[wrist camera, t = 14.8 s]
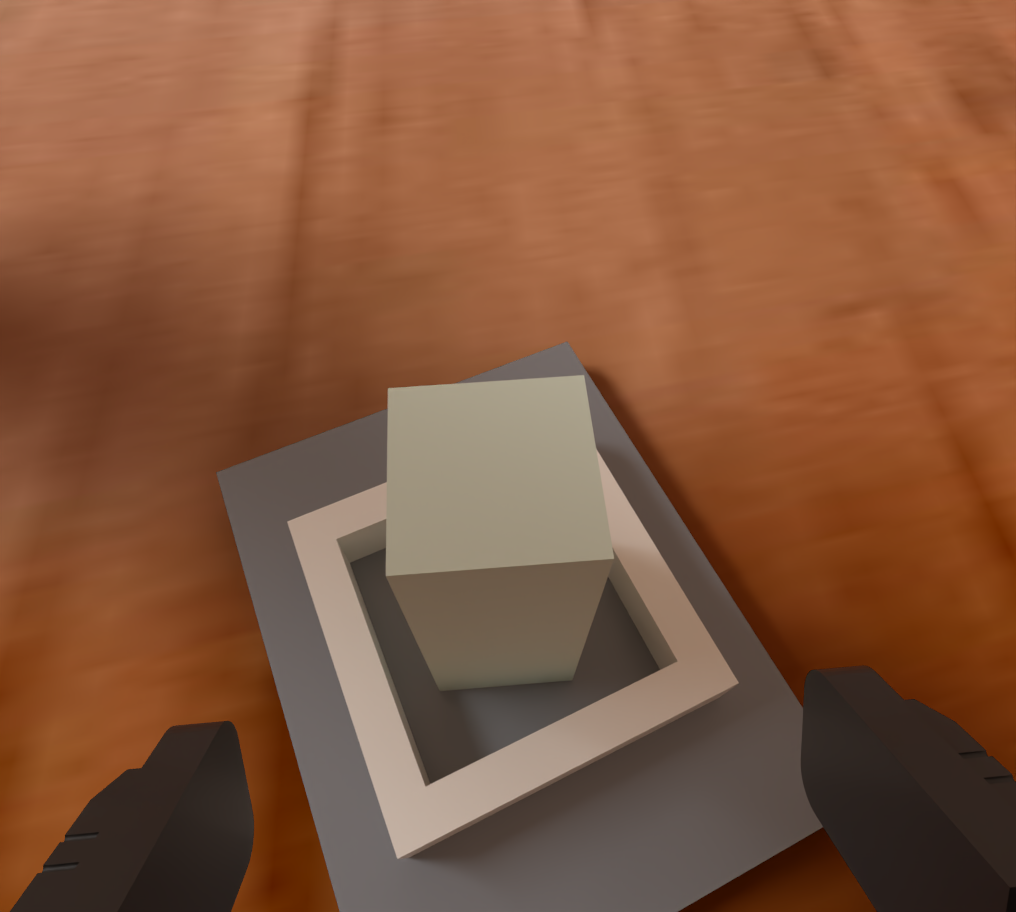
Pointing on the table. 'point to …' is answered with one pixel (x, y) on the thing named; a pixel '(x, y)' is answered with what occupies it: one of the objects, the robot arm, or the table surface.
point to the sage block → (496, 527)
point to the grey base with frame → (517, 703)
